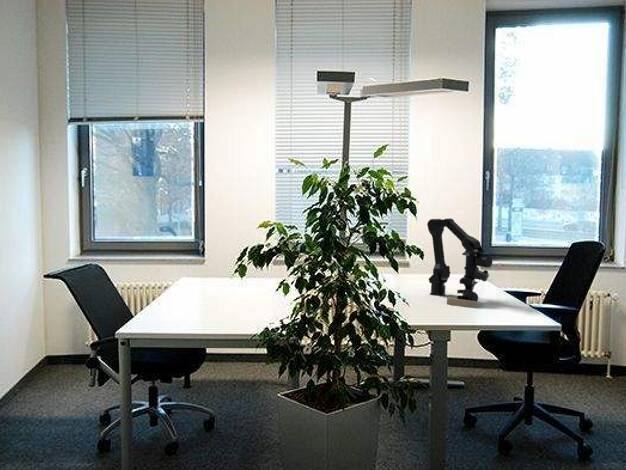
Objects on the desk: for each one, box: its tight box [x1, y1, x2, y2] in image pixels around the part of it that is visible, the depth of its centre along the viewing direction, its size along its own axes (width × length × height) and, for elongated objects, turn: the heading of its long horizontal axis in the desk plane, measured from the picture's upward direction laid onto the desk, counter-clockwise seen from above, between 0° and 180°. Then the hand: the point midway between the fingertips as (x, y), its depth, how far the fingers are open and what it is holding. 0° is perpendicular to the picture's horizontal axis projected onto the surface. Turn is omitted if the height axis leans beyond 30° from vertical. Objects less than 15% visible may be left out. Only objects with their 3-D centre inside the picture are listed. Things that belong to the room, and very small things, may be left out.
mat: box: [446, 297, 485, 309], centre depth 316 cm, size 14×15×3 cm
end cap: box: [456, 287, 479, 302], centre depth 315 cm, size 10×7×7 cm
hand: (469, 296), depth 322 cm, fingers closed
